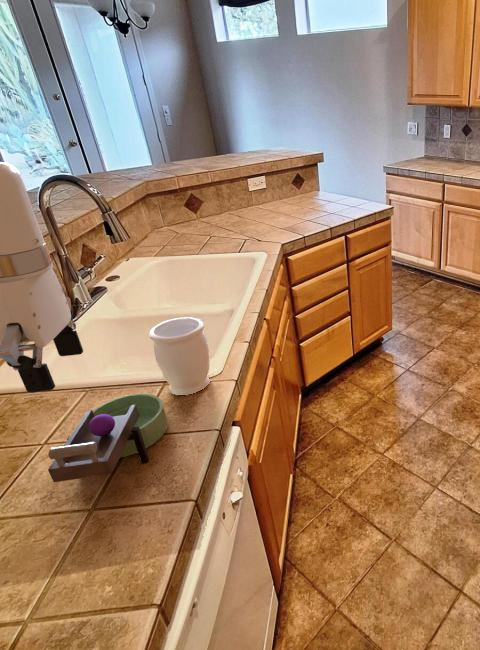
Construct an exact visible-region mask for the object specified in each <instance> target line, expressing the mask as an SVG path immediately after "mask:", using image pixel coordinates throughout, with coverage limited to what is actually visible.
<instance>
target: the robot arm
mask: <svg viewBox="0 0 480 650" xmlns="http://www.w3.org/2000/svg"><path fill="white" fill-rule="evenodd" d="M76 329H77V324H76V323H75V321H74V312H73V310H72V302H71V298H70V296H66V295H65V292H64V290H63V287H62V285H61V283H60V281H59V280H58V277H57V275H56V273H55V271H54V264H53V260H52V258H51V255H50V253H49V250H48V247H47V245H46V241H45V239H44V236H43V233H42V230H41V227H40V224H39V221H38V219H37V216H36V214H35V211H34V208H33V205H32V202H31V199H30V197H29V194H28V191H27V188H26V185H25V182H24V179H23V178H22V175H21V173H20V171H19V170H18V169H17V168H16V167H15V166H14V165H12V164H10V163H6V162H2V161H0V358H1V359H2V360H3V361H4V362H6V364H7V366H8V367H11V368H12V370H14V371H17V373H18V374H19V377H20V379H21V382H22V383H23V386H24V388H25V390H26V393H27V392H28V393H39V392H46V391H53V390H54V389H55V388H56V383H55V381H54V379H53V377H52V373H51V371H50V368H49V366H48V364H47V363H46V362H45V363H43V351H44V350H43V349H44V348H45V347H46V346H48V345H49V344H50V343H51V342H52V341H53V343H54V345H55V348H56V351H57V354H58V355H59V357H70V356H78V355H79V356H80V355H82V354H83V353H84V348H83V346H82V343H81V340H80V337H79V335H78V332H77V330H76ZM31 342H32V343H31ZM24 343H27V344H24ZM29 343H30V344H29ZM29 351H32V357H30V356H28V355H24V354H25V353H24V352H29Z"/></svg>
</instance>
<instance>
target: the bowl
mask: <svg viewBox="0 0 480 650" xmlns="http://www.w3.org/2000/svg"><path fill="white" fill-rule="evenodd" d="M131 405H136V407H137V410H138V413H139V418H138V420H137V422H136V424H135V426H134V427H138V426H139V429H140V432H141V435H142V438H143V441H144V444H145V448H146V449H147V448H150V447H151V446H152V445H154V444H155V443H156V442H158V441H159V440H160V439H161V438H162V437H163V436H164V434H165V433H166V431H167V429H168V426H169V421H168V416H167V412H166V410H165V405H164V401H163V400H162V399H161V398H160V397H159V396H157V395H155V394H151V393H142V392H141V393H140V392H139V393H132V394H126V395H123V396H118V397H116V398H113V399H110V400H108V401H106V402H104V403H102V404H100V405H99V406H97V407H95V408H93V409H92V411H93V414H94V416H95V417H96V416H98V415H100V414H107V415H110V416H112V417H114V416H122V415H126V414H127V412H128V410H129V408H130V406H131ZM131 434H132V433H131ZM134 454H138V451H137V448H136V445H135V442H134V440H128V441H127V443H126V445H125V447H124V449H123V451H122V453H121V455H120V457H119V459H120V458H124V457H125V458H126V457H128V456H129V457H130V456H131V455H134Z"/></svg>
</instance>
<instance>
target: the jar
mask: <svg viewBox="0 0 480 650" xmlns="http://www.w3.org/2000/svg"><path fill="white" fill-rule="evenodd" d="M204 323H205V322H204V321H203V320H202V319H201V318H199V317H193V316H182V317H174V318H171V319H167V320H164V321H162V322H160V323H158V324H156V325H154V326H153V327H151V329H150V330H149V333H148V335H149V338H150V340H152V341H153V354H154V359H155V362H156V364H157V366H158V368H159V371H160V372H161V374H162V377H163V378H164V380H165V381H166V382H167V384H169V392H170V393H171V394H173V395H174V394H175V396H178V395H186V396H189V395H188V394H192V395H194V394H193V393H195V394H197V393H196V392H198V391H200V390H202V389H203V390H205V389H206V388H207V387H208V386H209V385H210V383H211V378H210V379H209V378H208V377H207V375H208V376H209V372H210V345H209V343H208V339H207V337H206V334H205V332H204V330H205V329H204V328H205V324H204ZM209 382H210V383H209ZM208 384H209V385H208ZM207 385H208V386H207ZM206 386H207V387H206ZM205 387H206V388H205ZM204 388H205V389H204ZM203 390H202V391H203ZM200 392H201V391H200ZM198 393H199V392H198Z"/></svg>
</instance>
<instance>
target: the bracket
mask: <svg viewBox="0 0 480 650" xmlns="http://www.w3.org/2000/svg"><path fill="white" fill-rule="evenodd" d="M131 433H132V434H130V436H129V438H128V440H134V442H135V445H136V448H137V451H138V453H137V454H138V458H139V460H140V463H141V464H142V465H143V464H148V463H149V460H150V458H149V457H150V456H149V453H148V451H147V448H145V444H144V441H143V438H142V435H141V432H140V429H139V426H138V427H133V428H132V430H131ZM70 436H71V434H70V435H68V436H67V438H66V441H67V440H68V439H69V437H70ZM128 440H127V441H128Z"/></svg>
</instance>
